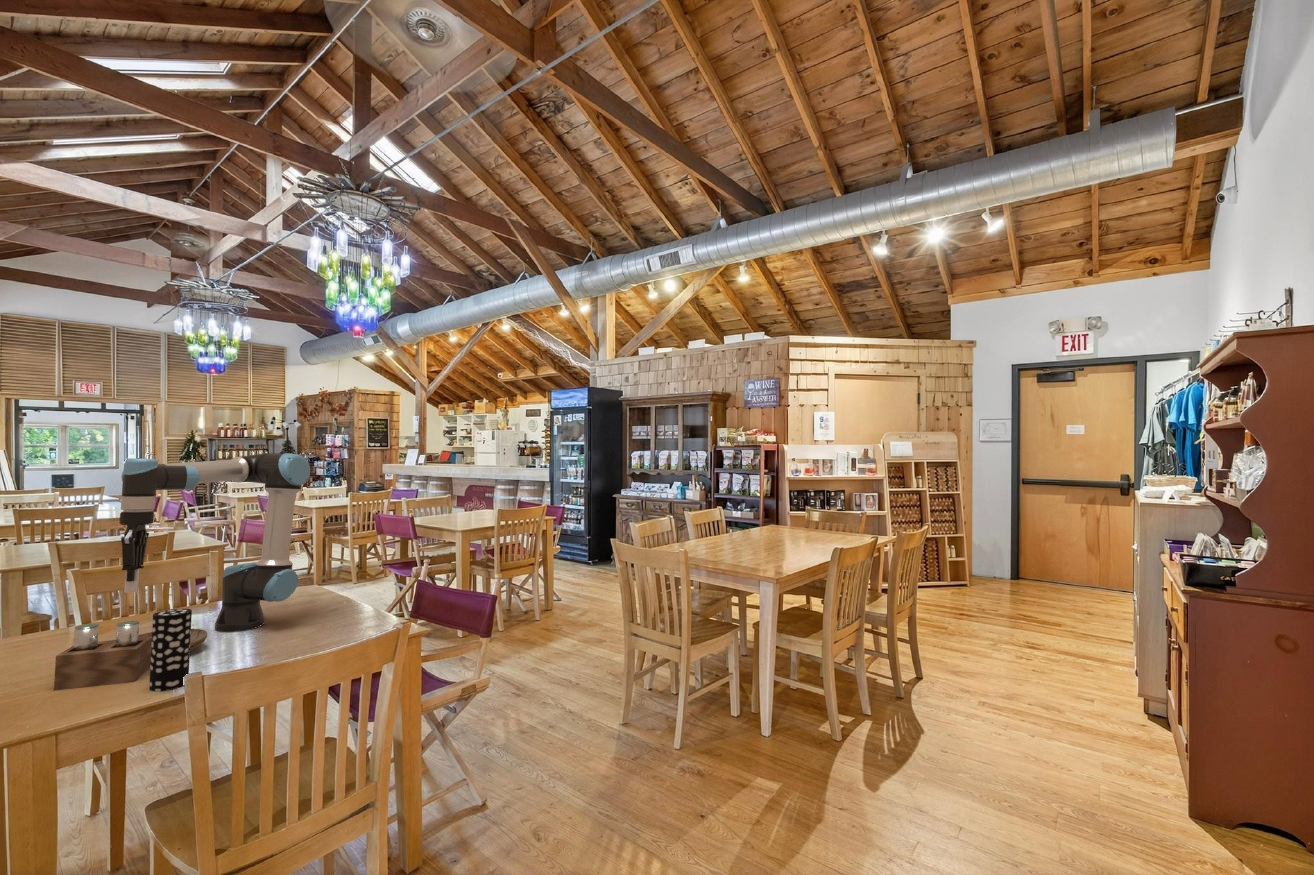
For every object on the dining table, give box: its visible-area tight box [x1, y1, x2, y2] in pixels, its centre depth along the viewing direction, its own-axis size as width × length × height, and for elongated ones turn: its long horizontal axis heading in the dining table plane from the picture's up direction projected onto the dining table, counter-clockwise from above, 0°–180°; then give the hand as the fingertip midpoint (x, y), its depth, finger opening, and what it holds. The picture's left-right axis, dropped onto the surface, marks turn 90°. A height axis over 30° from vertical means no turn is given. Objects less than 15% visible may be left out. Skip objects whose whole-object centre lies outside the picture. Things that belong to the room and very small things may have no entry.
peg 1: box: [73, 623, 100, 651], centre depth 165 cm, size 5×5×8 cm
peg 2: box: [115, 620, 140, 648], centre depth 169 cm, size 5×5×8 cm
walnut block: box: [53, 637, 152, 691], centre depth 167 cm, size 17×12×9 cm
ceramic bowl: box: [138, 628, 208, 651], centre depth 188 cm, size 23×24×5 cm
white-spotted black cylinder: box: [148, 608, 193, 692], centre depth 163 cm, size 8×8×20 cm
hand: (131, 591), depth 172 cm, fingers closed
